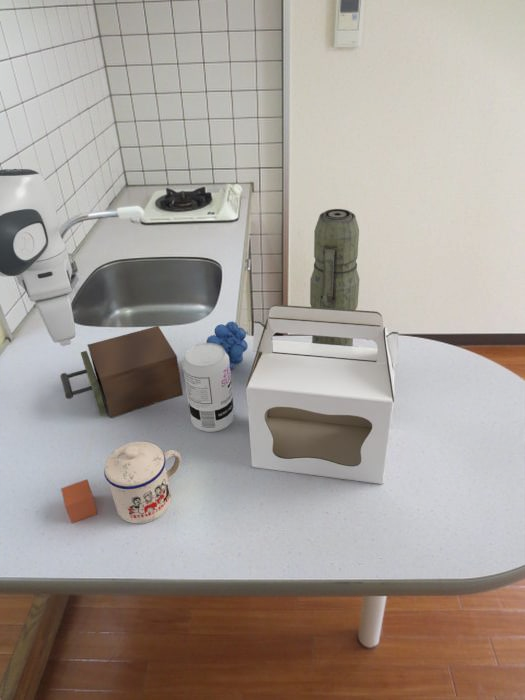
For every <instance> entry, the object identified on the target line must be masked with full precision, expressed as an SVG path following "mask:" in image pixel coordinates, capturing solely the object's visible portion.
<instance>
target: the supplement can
mask: <svg viewBox="0 0 525 700" xmlns="http://www.w3.org/2000/svg"><path fill="white" fill-rule="evenodd" d="M182 371H183V377H184V385H185V390H186V396H187V404H188V411H189V416H190V422H191V424H192V425H193V427H194V428H196V429H198V430H199V431H200V430H201V431H203V432H207V433H214V432H219V431H222V430H224V429H226V428H227V427H229V426H230V425H231V424H232V423H233V421H234V419H235V417H236V416H235V407H234V396H233V395H234V394H233V385H232V375H231V374H232V373H231V371H230V362H229V356H228V355H227V354H226V352H225V350H224V349H223V347H222V346H220V345H218V344H214V343H206V342H201V343H198V344H195V345H193V346H191V347H189V348H188V349H187V350H186V352H185V353H184V357H183V360H182Z"/></svg>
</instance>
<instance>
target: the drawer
mask: <svg viewBox="0 0 525 700" xmlns="http://www.w3.org/2000/svg"><path fill="white" fill-rule="evenodd" d="M80 356H81V360H82V363H83V366H84V369H82V370H81V369H80V370H78V371H75V372H71V373H68V374H67V373H66V372H62V373H61V374H60V375H59V377H60V382H61V386H62V388H63V392H64V396H65V398H66V399H67V400H71V399H73V398H74V396H76V395H80V394H83V393H86V392H90V391H91V392H92V395H93V398H94V402H95V405H96V407H97V410H98V413H99V416H102V415H105V414H107V410H106V407H105V406H106V405H105V402H104V398H103V395H102V392H101V390H100V387H99V384H98V381H97V378H96V374H95V370H94V367H93V363H92V361H91V358H90V357H89V354H88V350H84V351H81V352H80ZM85 374H86V377H87V380H88V384H89V386H86V387H83V388H79V389H75V390H73V389H72V385H71V381H70V379H72V378H74V377H78V376H81V375H85Z"/></svg>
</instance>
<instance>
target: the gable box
mask: <svg viewBox="0 0 525 700" xmlns="http://www.w3.org/2000/svg"><path fill="white" fill-rule="evenodd" d="M276 333H278V334H292V335H306V336H312V335H317V336H330V337H342V338H353V339H355V340H357V339H358V340H365V341H373V342H375V344H376V346H377V348H375V347H364V346H353V345H352V346H340V345H328V344H316V343H312V342H302V341H289V340H279V339H273V337H274V335H275V334H276ZM252 336H253V338H252V339H253V340H252V343H253V344H252V352H255V356H254V359H253V362H252V366H251V369H250V372H249V376H248V379H247V381H246V382H247V383H246V386H245V390H246V405H247V415H248V416H247V417H248V418H247V419H248V430H249V443H250V457H251V466H252V467H253V468H256V469H264V470H271V471H280V472H287V473H294V474H295V473H296V474H301V475H311V476H316V477H317V476H319V477H325V478H333V479H341V480H349V481H356V482H362V483H372V484H379V485H383V484H384V483H385V475H386V468H387V461H388V453H389V447H390V446H389V445H390V438H391V437H390V436H391V429H392V422H393V414H394V406H395V369H396V368H395V367H396V366H395V365H398V364H399V362H398V361H399V332H398V331H391V332H389V331H388V328H387V326H385V327H384V321H383V316H382V314H381V313H380V312H378V311H375V310H361V309H360V310H359V309H356V310H346V309H332V308H317V307H311V306H303V305H302V306H300V305H288V304H287V305H285V304H274V305H272V306H271V307H270V309H269V311H268V317H267V319H266V321H265V323H264V324H263V322H261V321H257V320H255V321H254V322H253V335H252Z"/></svg>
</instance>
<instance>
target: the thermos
mask: <svg viewBox="0 0 525 700" xmlns="http://www.w3.org/2000/svg"><path fill="white" fill-rule="evenodd" d="M313 235H314V238H313V241H314V242H313V243H314V244H313V246H314V247H313V257H314V262H313V271H312V274H311V275H310V276H311V277H310V281H309V283H310V285H309V288H310V289H309V296H310V297H309V302H310V303H309V305H310V307H317V308H332V309H346V310H357V308H358V306H359V305H358V304H359V291H360V276H359V273H358V263H357V260H358V255H359V254H358V253H359V242H360V241H359V239H360V238H359V236H360V228H359V224H358V220H357V216H356V215H355V213H353V212H352V211H350V210H348V209H343V208H331V209H327V210H325V211H323V212H322V213H320V214H319V216H318V219H317V221H316V224H315V228H314V234H313ZM353 342H354V338H342V337H330V336H317V335H311V343H316V344H328V345H340V346H352V347H353Z"/></svg>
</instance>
